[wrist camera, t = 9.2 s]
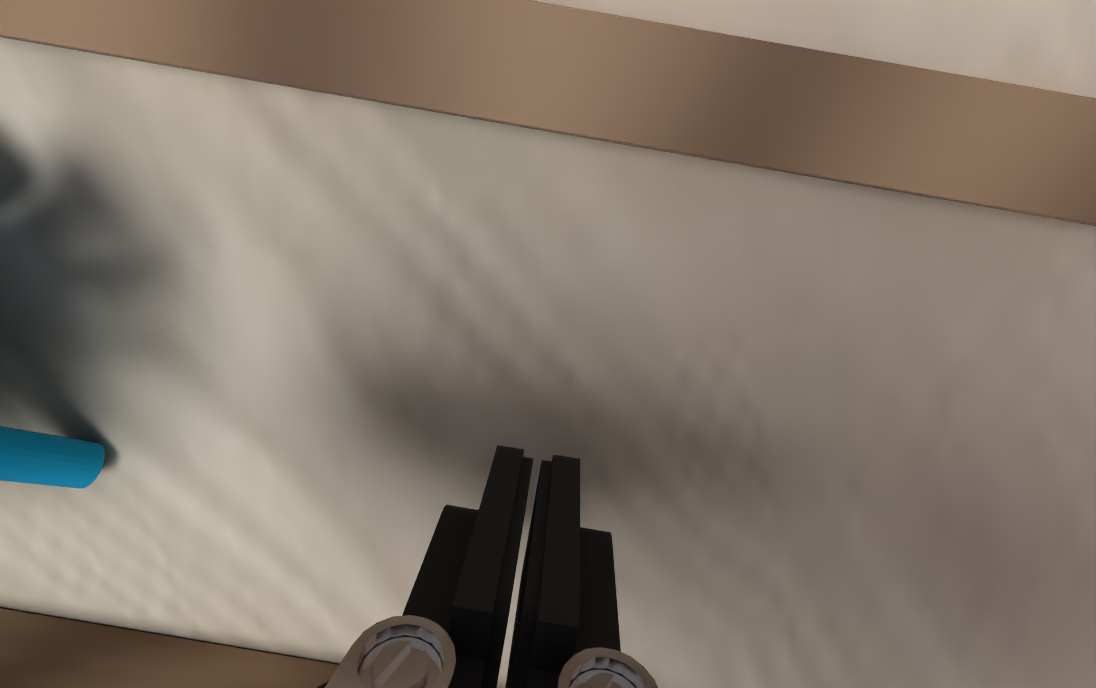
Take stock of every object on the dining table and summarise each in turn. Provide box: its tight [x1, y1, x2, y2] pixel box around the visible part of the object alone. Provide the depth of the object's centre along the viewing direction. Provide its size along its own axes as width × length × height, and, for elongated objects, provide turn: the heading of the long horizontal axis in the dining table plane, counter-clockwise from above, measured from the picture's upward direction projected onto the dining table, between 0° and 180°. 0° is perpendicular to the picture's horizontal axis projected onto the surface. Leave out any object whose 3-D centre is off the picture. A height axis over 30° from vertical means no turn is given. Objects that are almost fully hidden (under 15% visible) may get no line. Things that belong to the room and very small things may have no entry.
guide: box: [0, 0, 1096, 688], centre depth 11 cm, size 28×17×2 cm, turn 81°
